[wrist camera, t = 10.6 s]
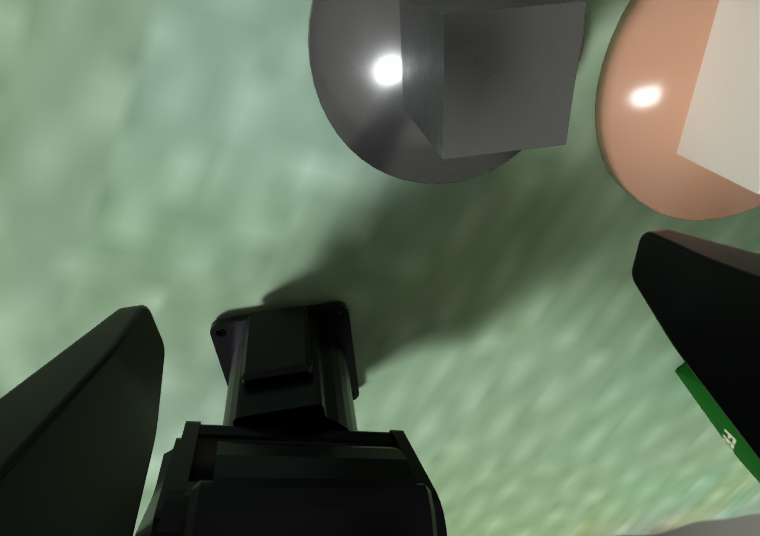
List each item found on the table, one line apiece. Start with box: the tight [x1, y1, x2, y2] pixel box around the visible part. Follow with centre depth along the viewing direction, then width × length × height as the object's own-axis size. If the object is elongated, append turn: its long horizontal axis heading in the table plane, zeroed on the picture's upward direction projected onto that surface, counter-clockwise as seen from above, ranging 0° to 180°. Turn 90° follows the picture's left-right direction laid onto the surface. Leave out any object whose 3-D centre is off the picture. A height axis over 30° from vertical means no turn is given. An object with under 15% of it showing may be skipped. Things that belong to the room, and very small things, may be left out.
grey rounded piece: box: [308, 0, 587, 184], centre depth 15 cm, size 10×10×6 cm
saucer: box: [595, 0, 760, 220], centre depth 20 cm, size 13×13×1 cm
